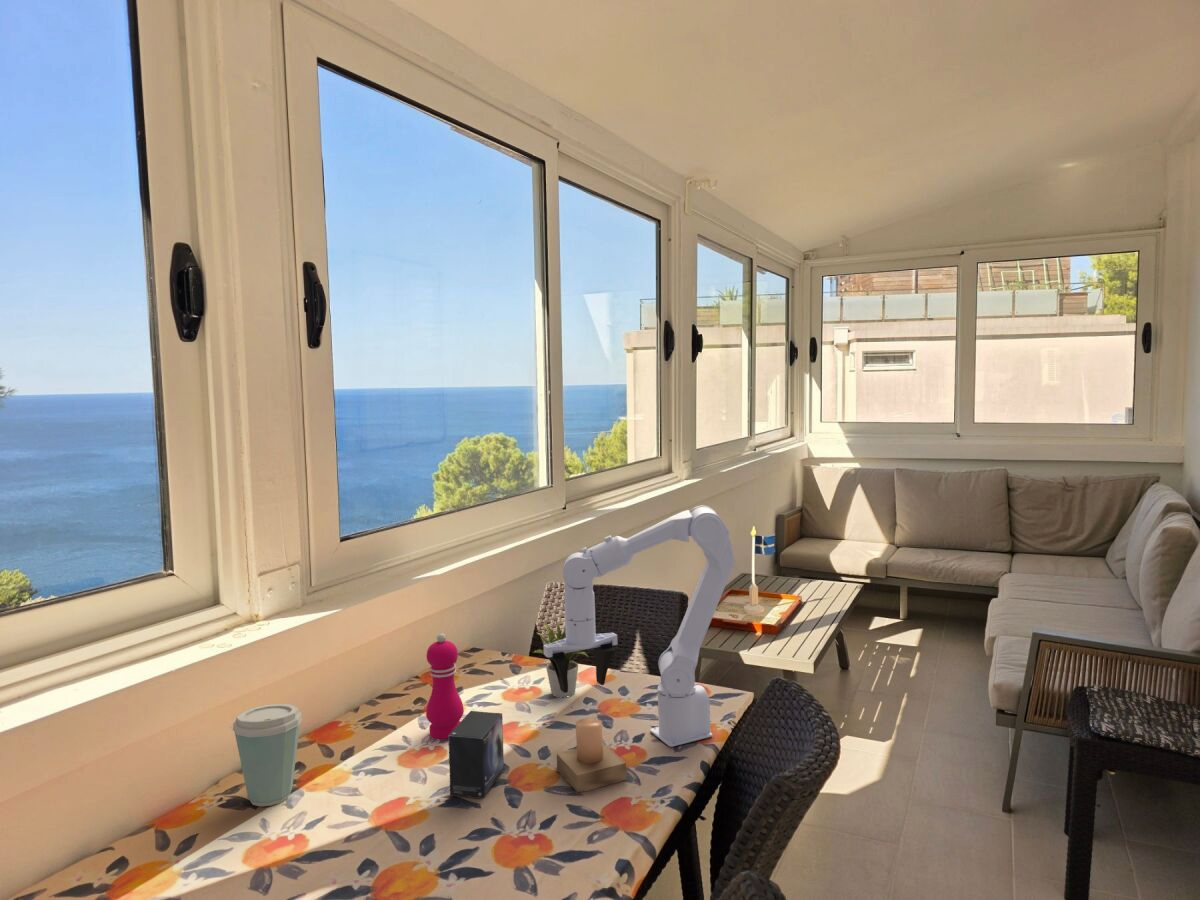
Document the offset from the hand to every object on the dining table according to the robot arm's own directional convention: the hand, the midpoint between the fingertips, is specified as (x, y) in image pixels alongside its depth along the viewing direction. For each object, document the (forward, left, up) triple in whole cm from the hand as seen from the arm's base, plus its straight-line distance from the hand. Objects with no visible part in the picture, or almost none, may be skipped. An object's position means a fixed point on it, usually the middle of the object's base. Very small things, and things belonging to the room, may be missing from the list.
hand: (582, 687), depth 150 cm
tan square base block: (+5, +14, -10) cm, 18 cm away
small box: (+23, +7, -10) cm, 26 cm away
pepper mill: (+23, -15, -10) cm, 29 cm away
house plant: (-5, -21, -10) cm, 24 cm away
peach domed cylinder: (+5, +14, -7) cm, 16 cm away
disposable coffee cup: (+55, -5, -10) cm, 56 cm away
